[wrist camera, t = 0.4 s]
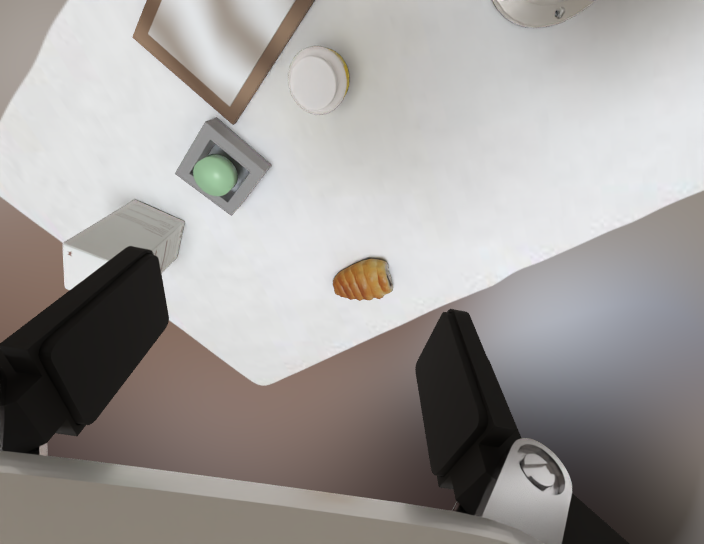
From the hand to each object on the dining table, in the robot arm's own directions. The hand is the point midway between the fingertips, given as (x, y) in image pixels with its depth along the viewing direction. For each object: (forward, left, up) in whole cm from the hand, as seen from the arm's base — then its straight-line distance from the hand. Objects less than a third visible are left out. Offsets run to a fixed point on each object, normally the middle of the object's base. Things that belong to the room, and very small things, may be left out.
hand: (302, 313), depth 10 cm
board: (0, -17, -32) cm, 36 cm away
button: (+14, -9, -29) cm, 33 cm away
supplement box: (+30, -12, -32) cm, 46 cm away
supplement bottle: (-2, -6, -32) cm, 33 cm away
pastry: (+14, +17, -32) cm, 39 cm away
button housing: (+14, -9, -32) cm, 36 cm away
